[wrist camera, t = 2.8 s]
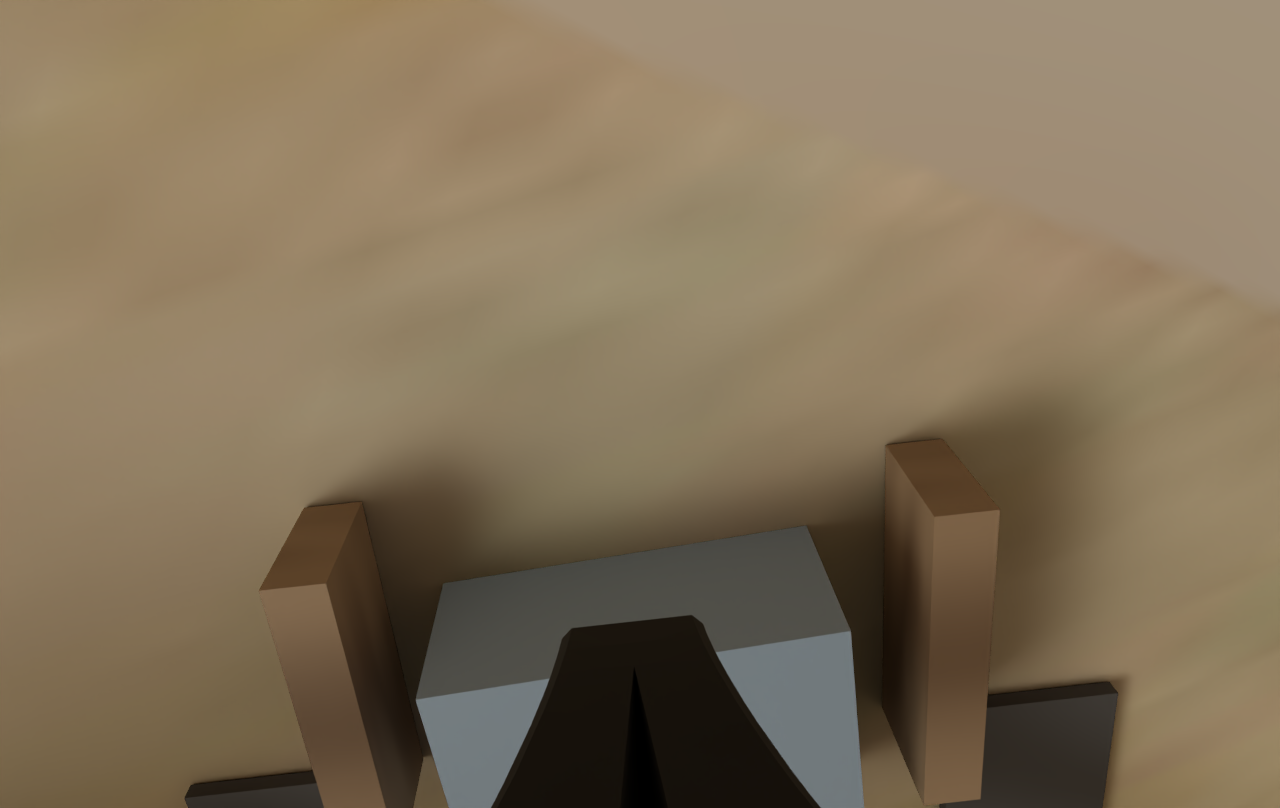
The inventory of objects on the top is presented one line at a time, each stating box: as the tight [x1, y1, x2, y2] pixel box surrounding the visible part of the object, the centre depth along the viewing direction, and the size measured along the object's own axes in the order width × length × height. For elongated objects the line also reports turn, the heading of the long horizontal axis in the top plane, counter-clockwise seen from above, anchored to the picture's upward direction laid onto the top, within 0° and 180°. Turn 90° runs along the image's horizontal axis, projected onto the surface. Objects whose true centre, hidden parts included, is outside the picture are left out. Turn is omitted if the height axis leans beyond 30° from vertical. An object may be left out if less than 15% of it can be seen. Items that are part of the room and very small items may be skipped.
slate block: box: [416, 526, 864, 808], centre depth 20 cm, size 7×8×4 cm
